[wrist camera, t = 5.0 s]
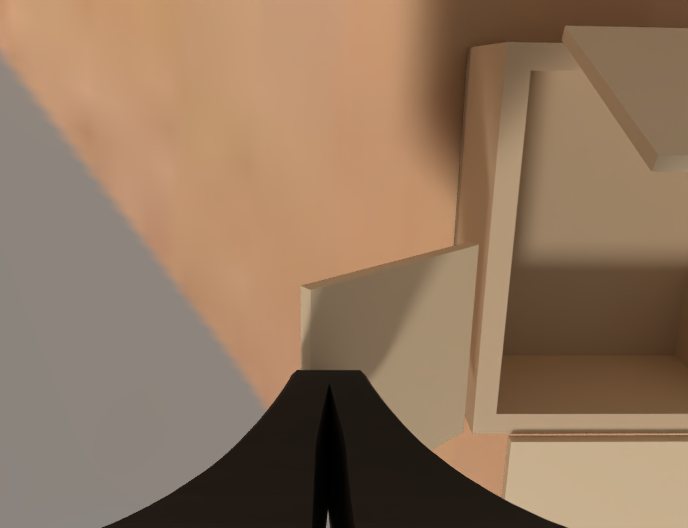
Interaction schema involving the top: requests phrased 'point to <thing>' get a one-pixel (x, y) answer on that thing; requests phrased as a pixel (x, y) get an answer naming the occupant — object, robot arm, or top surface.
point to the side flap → (400, 334)
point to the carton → (573, 295)
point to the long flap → (640, 85)
